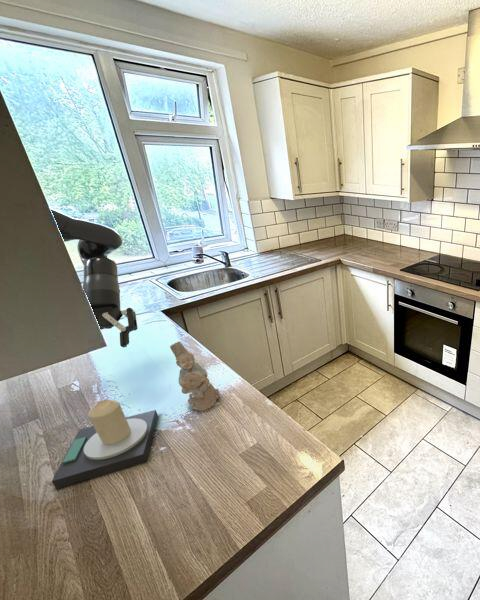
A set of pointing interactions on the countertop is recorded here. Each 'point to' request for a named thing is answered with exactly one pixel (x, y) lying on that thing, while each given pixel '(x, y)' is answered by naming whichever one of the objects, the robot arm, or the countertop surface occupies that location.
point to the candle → (109, 421)
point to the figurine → (194, 379)
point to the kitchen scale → (106, 451)
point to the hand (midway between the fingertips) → (103, 350)
